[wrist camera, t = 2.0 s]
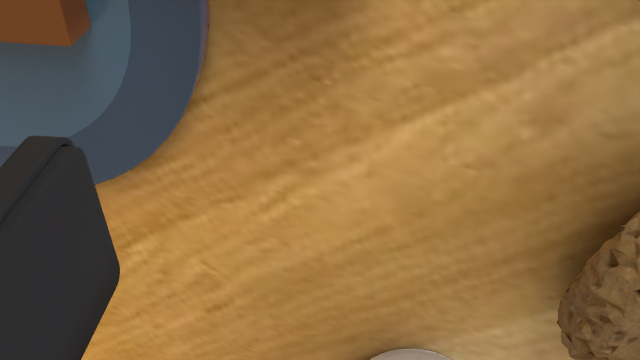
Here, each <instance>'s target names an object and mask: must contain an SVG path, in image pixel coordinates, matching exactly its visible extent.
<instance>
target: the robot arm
mask: <svg viewBox="0 0 640 360" xmlns="http://www.w3.org/2000/svg"><path fill="white" fill-rule="evenodd" d="M119 276H120V267H119V262H118V259H117V256H116V253H115V249H114V246H113V243H112V240H111V236H110V233H109V230H108V227H107V224H106V220H105V217H104V214H103V211H102V207H101V204H100V201H99V198H98V195H97V191H96V188H95V185H94V182H93V178H92V175H91V172H90V169H89V166H88V162H87V159H86V156H85V153H84V151H83V150H82V149H81V148H79V147H75V146H74V144H73V142H72V141H71V140H70V139H69V138H66V137H53V136H35V135H33V136H28V137H27V138H26V139H25V140H24V141H23V142H22V143H21V144H20V145H19V146H18V148H17V149H16V150H15V151H14V152H13V153H12V154H11V156H10V157H9V158H8V159H7V160H6V161H5V163H4V164H3V165H2V166H1V167H0V360H81V358H82V356H83V354H84V352H85V350H86V348H87V346H88V344H89V342H90V340H91V338H92V336H93V334H94V332H95V330H96V328H97V326H98V324H99V322H100V320H101V318H102V316H103V314H104V312H105V310H106V308H107V305H108V303H109V301H110V299H111V297H112V295H113V293H114V291H115V289H116V287H117V284H118V281H119Z"/></svg>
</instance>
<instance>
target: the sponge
mask: <svg viewBox="0 0 640 360" xmlns="http://www.w3.org/2000/svg"><path fill="white" fill-rule="evenodd" d="M558 319H559V320H558V321H557V323H558V325H559V326H560V328H561V329H562V343H563V344H564V345H565V346H566V347H567V348H568V350H569V354H570V357H571V358H573V359H575V360H640V211H639V212H638V213H636V214H635V215H634V216H633V217H632V219H631V220H630V221H629V222H628V223H627V224H626V225H622V226H620V227H619V231H618V234H617V235H616V236H615V237H613V238H611V239H609V240H607V241H606V242H605V243H604V244H603V245H602V247H601V248H600V250H599V251H598V252H597V253H595V254H594V255H593V256H592V257H591V258H590V259H589V260H588V261H587V262H586V267H585V268H584V269H583V270H582V271H581V272H580V274H579V275H578V276H577V277H576V278H575V279H574V281H573V282H572V283H571V285H570V286H569V288H568V289H567V291H566V292H565V294H564V296H563V298H562V300H561V301H560V305H559V309H558Z"/></svg>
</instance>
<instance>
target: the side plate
mask: <svg viewBox="0 0 640 360" xmlns="http://www.w3.org/2000/svg"><path fill="white" fill-rule="evenodd" d="M85 2H86V6H87V10H88V15H89V19H90V23H91V27H90V28H89V29H88V30H87V31H86V32H85V33H84V34H83V35H82V36H81V37H80V38H79V39H78V40H77V41H76V42H75V43H74V44H73V45H72V46H71V47H66V46H52V45H38V44H23V43H9V42H0V167H1V166H2V165H3V164H4V163H5V161H6V160H7V159H8V158H9V157H10V156H11V154H12V153H13V152H14V151H15V150H16V149H17V148H18V146H19V145H20V144H21V143H22V142H23V141H24V140H25V139H26V138H27V137H28V136H33V135H35V136H53V137H66V138H69V139H70V140H71V141H72V142H73V144H74V146H75V147H79V148H81V149H82V150H83V151H84V153H85V156H86V159H87V162H88V166H89V169H90V172H91V175H92V178H93V182H94V185H96V184H99V183H102V182H105V181H107V180H110V179H113V178H115V177H117V176H119V175H121V174H123V173H125V172H127V171H129V170H131V169H133V168H135V167H136V166H137V165H139V164H140V163H141V162H143V161H144V160H145V159H147V158H148V157H149V156H151V155H152V154H153V153H154V152H155V151H156V150H157V149H158V148H159V147H160V146H161V145H162V144H163V143H164V142H165V141H166V140H167V138H168V137H169V136H170V135H171V133H172V132H173V130H174V129H175V127H176V126H177V124H178V123H179V121H180V120H181V118H182V117H183V115H184V113H185V111H186V109H187V107H188V105H189V103H190V101H191V99H192V96H193V94H194V92H195V90H196V87H197V85H198V83H199V79H200V76H201V72H202V68H203V64H204V60H205V57H206V47H207V38H208V29H209V22H208V0H85Z"/></svg>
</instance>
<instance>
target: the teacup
mask: <svg viewBox="0 0 640 360" xmlns="http://www.w3.org/2000/svg"><path fill="white" fill-rule="evenodd" d="M369 360H452V359H450V358H447V357H445V356H443V355H441V354H438V353H435V352H432V351H428V350H423V349H412V348H408V349H397V350H392V351H388V352H385V353H382V354H379V355H377V356H375V357H373V358H372V359H369Z"/></svg>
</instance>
